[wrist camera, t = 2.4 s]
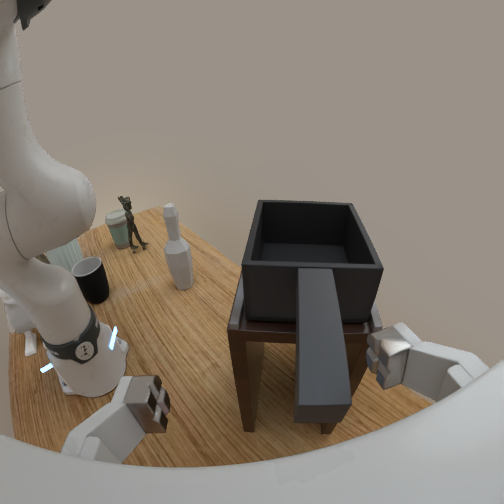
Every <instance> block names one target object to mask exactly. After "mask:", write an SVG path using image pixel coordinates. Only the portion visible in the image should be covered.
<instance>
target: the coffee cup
mask: <svg viewBox="0 0 504 504" xmlns="http://www.w3.org/2000/svg"><path fill="white" fill-rule="evenodd" d="M105 221H106V222H105V223H106V224H107V226H108V228H109V231H110V233H111V235H112V238H113V240H114V242H115V245H116V247H117V248H118V249H124V248H127V247H129V246H130V243H129V240H128V229H127V219H126V216H125V210H124V209H119V210H115V211H112V212H110V213H108V214H107V215H106V220H105Z"/></svg>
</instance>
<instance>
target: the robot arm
mask: <svg viewBox="0 0 504 504" xmlns="http://www.w3.org/2000/svg"><path fill="white" fill-rule="evenodd" d="M50 1H51V0H0V186H1V187H2V188H3V189H4V190H5V191H3V192H0V289H1V290H3V291H4V292H5V293H7V294H8V295H9V296H10V297H12V298H13V299H14V300H15V301H16V302H17V303H18V304H19V305H20V306H21V308H22V309H23V310H24V311H25V313H26V314H27V316H28V317H29V318H30V320H31V321H32V323H33V324H34V326H35V327H36V329H37V330H38V331H39V333H40V334H41V339H42V341H43V342H44V344H45V346H46V348H47V349H48V350H47V351H46V354H47V356H48V358H49V359H50V360H49V361H50V364H49V365H47V366H45V367H43V368H42V369H40V370H41V371H42V373H43V372H45V371H47V370H48V369H50V368H52V367H53V368H54V369H55V370H56V372H57V375H58V378H59V381H60V384H61V387H62V390H63V392H64V393H65V394H66V395H75V394H78V395H82V396H85V397H98V396H102V395H104V394H106V393H108V392H110V391H111V390H113V389H114V388H115V387H116V386H117V385H118V386H117V388H116V391H115V393H114V396H113V398H112V401H111V403H107V404H106V405H104V406H103V407H102V408H100V409H99V410H98V411H97V412H95V413H94V414H93V415H91V416H90V417H89V418H87V419H86V420H85V421H83V422H82V423H81V424H79V425H78V426H77V427H75V428H74V429H73V430H71V431H70V432H69V434H68V436H67V438H66V440H65V443H64V445H63V447H62V450H61V452H60V453H58V452H54V451H51V450H47V449H44V448H40V447H37V446H34V445H31V444H28V443H25V442H22V441H19V440H16V439H14V438H11V437H9V436H6V435H3V434H0V504H504V358H503V359H502V360H501V361H499V362H498V363H497V364H495V365H494V366H493V367H492V368H489V367H488V366H487V365H486V364H485V363H484V362H483V361H481V360H480V359H479V358H478V357H477V356H476V355H475V354H474V353H471V352H466V351H462V350H458V349H454V348H450V347H447V346H442V345H439V344H435V343H431V342H428V341H425V342H422V341H421V340H420V339H419V338H418V337H417V336H416V335H415V334H414V333H413V332H412V331H411V330H410V329H409V328H408V327H407V326H406V325H405V324H404V323H402V322H400V323H397V324H395V325H392V326H390V327H387V328H384V329H381V330H379V331H375V332H372V333H369V334H368V336H367V343H368V345H369V348H368V349H367V351H366V361H367V365H368V367H369V369H370V371H371V372H372V373H374V374H377V377H376V380H377V382H378V383H379V385H380V386H381V388H382V389H383V390H385V389H388V388H391V387H393V386H396V385H399V384H401V383H402V384H403V385H405V386H407V387H409V388H411V389H413V390H415V391H417V392H419V393H421V394H423V395H425V396H427V397H429V398H431V399H433V400H435V401H436V403H434V404H432V405H430V406H428V407H427V408H425V409H423V410H421V411H419V412H417V413H415V414H412V415H410V416H408V417H406V418H404V419H402V420H399V421H397V422H395V423H393V424H390V425H388V426H385V427H383V428H381V429H378V430H375V431H373V432H370V433H368V434H365V435H362V436H359V437H356V438H353V439H350V440H347V441H344V442H341V443H338V444H335V445H331V446H328V447H324V448H321V449H317V450H313V451H309V452H305V453H301V454H296V455H292V456H287V457H282V458H276V459H271V460H265V461H258V462H251V463H243V464H234V465H224V466H210V467H149V466H135V465H125V464H122V462H123V461H124V460H125V459H126V458H127V457H128V455H129V454H130V453H131V452H132V451H133V450H134V448H135V447H136V446H137V445H138V444H139V443H140V441H141V440H142V439H143V438H144V437H145V435H146V433H166V429H167V423H168V419H167V418H166V415H167V414H168V413H169V412H170V399H169V395H168V393H167V391H166V390H165V389H164V388H162V387H161V384H162V381H161V379H160V377H159V376H157V375H142V376H124V373H125V369H126V354H127V352H128V349H129V345H128V344H127V342H126V341H124V340H122V339H120V338H119V337H117V336H116V333H117V328H116V327H114V331H113V332H112V330H111V329H110V327H109V326H108V325H105V324H104V323H103V322H101V321H98V319H97V316H96V314H95V312H94V311H93V310H92V308H91V307H90V306H89V305H88V304H87V302H86V300H85V297H84V296H83V294H82V292H81V290H80V287H79V285H78V283H77V281H76V278H75V277H74V276H73V275H72V274H71V273H70V272H69V271H68V270H66V269H65V268H63V267H61V266H57V265H51V264H46V263H43V262H41V261H40V260H38V259H36V258H35V257H36V256H38V255H41V254H43V253H46V252H48V251H51V250H53V249H56V248H58V247H61V246H64V245H66V244H67V243H69V242H71V241H72V240H74V239H75V238H77V237H79V236H80V235H82V234H83V233H85V232H86V231H88V230H89V229H90V227H91V225H92V223H93V220H94V217H95V212H96V198H95V194H94V190H93V188H92V185H91V183H90V182H89V180H88V179H87V178H86V176H85V175H84V174H82V173H81V172H80V171H78V170H77V169H75V168H71V167H68V166H66V165H64V164H61V163H60V162H58V161H56V160H55V159H53V158H52V157H50V156H49V155H48V154H47V153H46V152H45V151H44V150H43V149H42V147H41V146H40V145H39V144H38V142H37V140H36V139H35V137H34V135H33V132H32V130H31V127H30V123H29V119H28V115H27V111H26V106H25V100H24V93H23V82H20V81H22V71H21V62H20V54H19V47H18V41H17V35H16V30H15V26H14V24H15V23H16V22H17V20H19V19H20V20H21V24H22V29H23V30H25V29H26V28H27V27H28V26H29V23H30V19H32V18H33V17H34V16H36V15H37V14H38V13H40V12H41V11H42V10H43V9H44V8H45V7H46V6H47V5H48V4H49V2H50ZM18 82H19V83H18ZM16 83H17V84H16ZM13 84H14V85H13ZM11 85H12V86H11Z"/></svg>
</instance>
